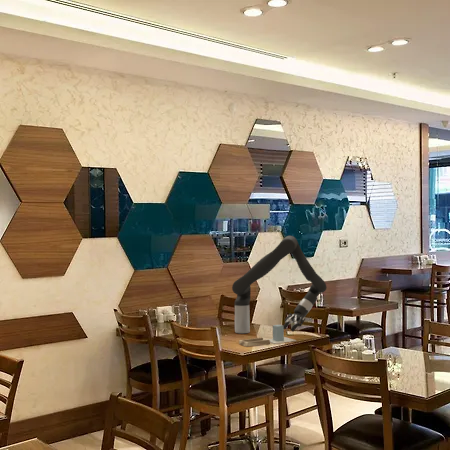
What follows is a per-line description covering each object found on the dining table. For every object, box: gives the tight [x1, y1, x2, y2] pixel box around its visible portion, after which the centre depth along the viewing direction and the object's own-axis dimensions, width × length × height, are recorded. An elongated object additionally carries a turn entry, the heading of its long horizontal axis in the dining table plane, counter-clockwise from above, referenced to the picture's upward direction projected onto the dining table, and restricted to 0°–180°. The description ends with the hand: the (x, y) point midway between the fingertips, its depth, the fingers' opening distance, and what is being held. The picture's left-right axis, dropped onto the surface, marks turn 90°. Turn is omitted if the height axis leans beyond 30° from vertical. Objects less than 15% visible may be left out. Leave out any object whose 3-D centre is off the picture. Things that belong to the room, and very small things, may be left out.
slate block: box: [272, 324, 285, 341], centre depth 337 cm, size 5×5×8 cm
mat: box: [264, 336, 297, 345], centre depth 337 cm, size 12×15×1 cm
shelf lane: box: [238, 336, 271, 348], centre depth 329 cm, size 8×15×2 cm, turn 118°
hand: (287, 329), depth 339 cm, fingers open, 8 cm apart
